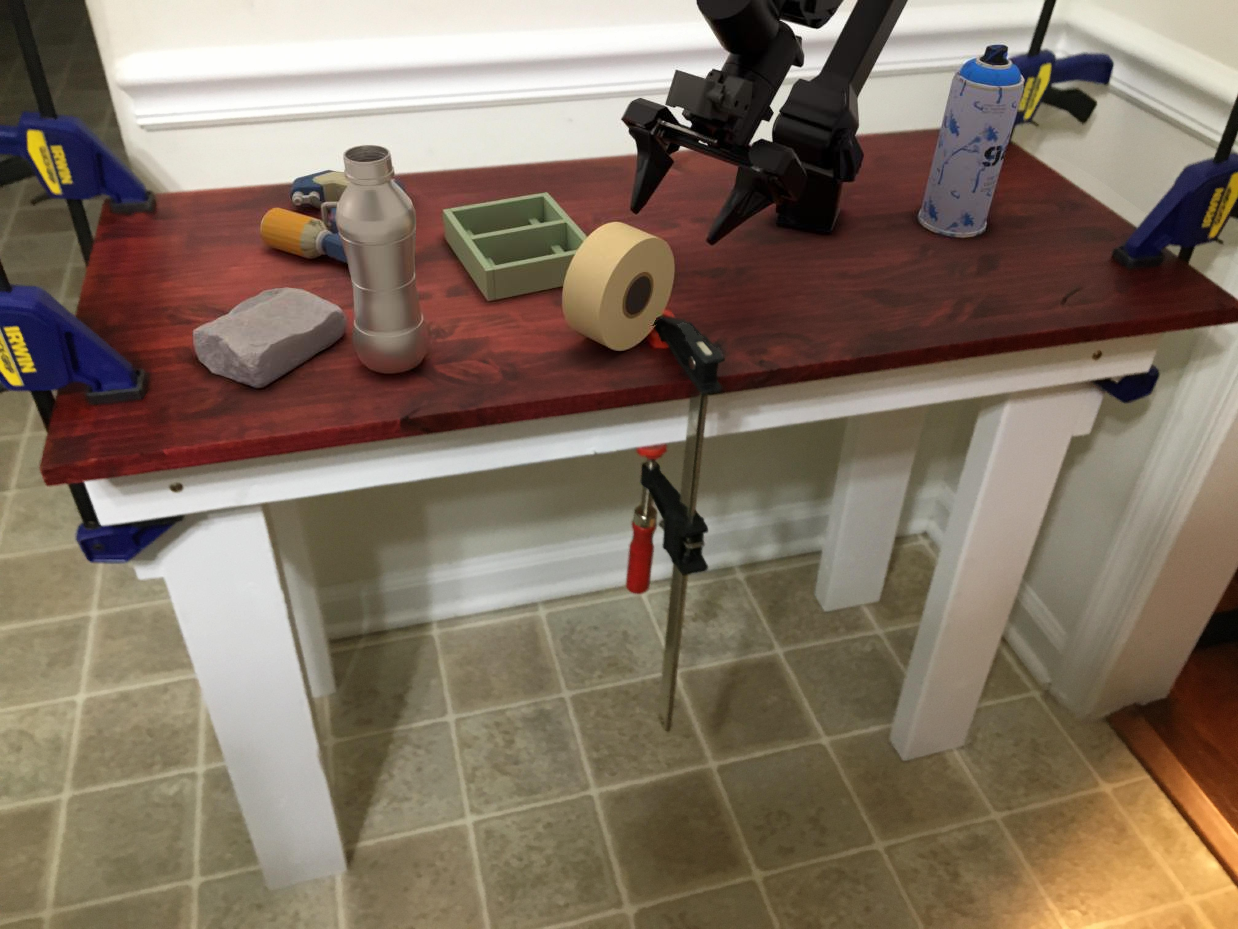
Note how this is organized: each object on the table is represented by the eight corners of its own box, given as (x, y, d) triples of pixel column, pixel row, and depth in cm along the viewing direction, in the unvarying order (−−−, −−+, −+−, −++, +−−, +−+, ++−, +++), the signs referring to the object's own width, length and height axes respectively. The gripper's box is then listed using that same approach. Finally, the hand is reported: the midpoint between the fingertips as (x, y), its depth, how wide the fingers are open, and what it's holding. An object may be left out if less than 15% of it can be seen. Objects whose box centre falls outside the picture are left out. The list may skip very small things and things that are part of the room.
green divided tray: (547, 220, 116) (547, 191, 114) (598, 279, 106) (598, 249, 104) (444, 238, 112) (442, 209, 109) (487, 301, 102) (485, 270, 100)
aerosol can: (960, 244, 115) (1009, 64, 102) (904, 218, 119) (944, 43, 106) (999, 224, 119) (1051, 49, 106) (943, 200, 123) (986, 30, 110)
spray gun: (255, 281, 103) (405, 277, 105) (247, 243, 100) (401, 240, 102) (279, 196, 119) (408, 195, 121) (273, 162, 116) (405, 160, 118)
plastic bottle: (361, 344, 95) (328, 137, 82) (433, 342, 96) (412, 137, 83) (353, 383, 90) (316, 170, 77) (429, 382, 91) (406, 170, 78)
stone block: (191, 377, 93) (262, 394, 88) (173, 329, 91) (244, 345, 86) (288, 324, 101) (359, 338, 96) (274, 279, 99) (345, 291, 94)
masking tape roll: (634, 307, 102) (640, 205, 95) (670, 324, 100) (679, 221, 93) (561, 350, 95) (561, 244, 88) (597, 369, 93) (601, 262, 86)
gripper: (637, 9, 93) (557, 159, 94) (809, 58, 84) (720, 224, 85) (683, 74, 103) (610, 210, 103) (842, 124, 94) (761, 272, 95)
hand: (670, 227), depth 96 cm, fingers open, 9 cm apart
